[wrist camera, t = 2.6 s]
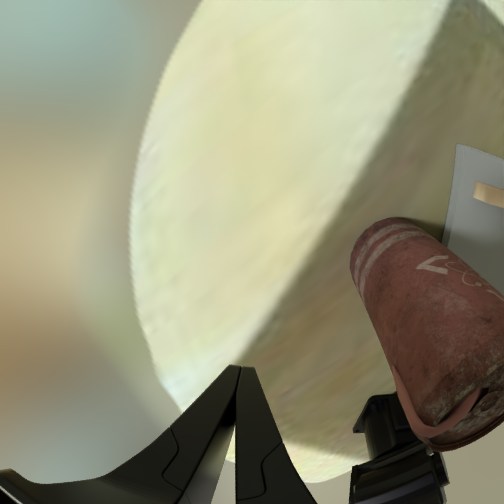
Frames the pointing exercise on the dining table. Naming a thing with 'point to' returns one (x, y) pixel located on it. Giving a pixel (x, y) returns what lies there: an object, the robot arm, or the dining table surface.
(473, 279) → the can
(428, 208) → the dining table surface
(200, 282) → the dining table surface
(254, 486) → the robot arm
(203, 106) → the dining table surface
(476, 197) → the tray
